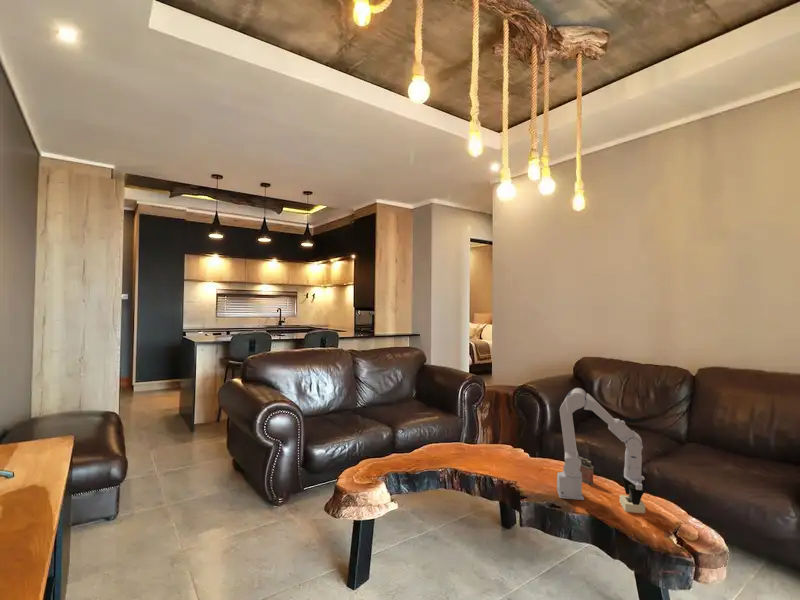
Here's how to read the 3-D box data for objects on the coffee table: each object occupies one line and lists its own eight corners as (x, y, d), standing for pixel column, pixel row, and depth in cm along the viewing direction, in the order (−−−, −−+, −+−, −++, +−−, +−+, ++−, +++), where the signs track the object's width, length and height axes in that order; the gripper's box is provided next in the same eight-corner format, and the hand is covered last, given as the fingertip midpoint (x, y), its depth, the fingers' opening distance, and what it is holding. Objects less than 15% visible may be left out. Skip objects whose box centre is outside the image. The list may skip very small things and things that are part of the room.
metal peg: (630, 509, 164) (630, 487, 164) (627, 506, 166) (628, 484, 166) (635, 509, 164) (636, 487, 164) (633, 506, 166) (633, 485, 166)
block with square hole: (625, 511, 162) (625, 504, 162) (619, 502, 169) (619, 494, 169) (645, 513, 161) (645, 505, 161) (638, 503, 168) (638, 496, 168)
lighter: (595, 483, 185) (595, 461, 184) (590, 485, 183) (590, 463, 182) (579, 476, 192) (579, 454, 191) (574, 478, 190) (574, 456, 189)
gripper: (651, 474, 156) (650, 510, 157) (637, 458, 171) (636, 491, 171) (630, 472, 158) (630, 508, 158) (618, 456, 172) (617, 489, 173)
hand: (632, 499), depth 165 cm, fingers open, 7 cm apart
